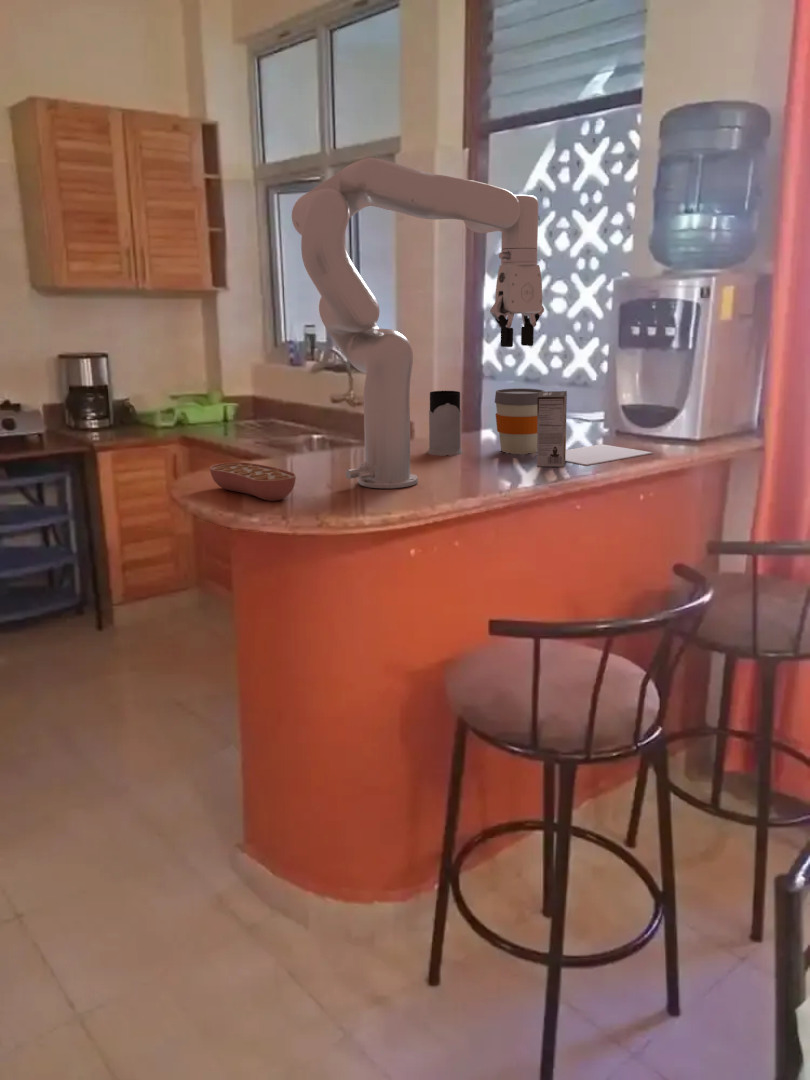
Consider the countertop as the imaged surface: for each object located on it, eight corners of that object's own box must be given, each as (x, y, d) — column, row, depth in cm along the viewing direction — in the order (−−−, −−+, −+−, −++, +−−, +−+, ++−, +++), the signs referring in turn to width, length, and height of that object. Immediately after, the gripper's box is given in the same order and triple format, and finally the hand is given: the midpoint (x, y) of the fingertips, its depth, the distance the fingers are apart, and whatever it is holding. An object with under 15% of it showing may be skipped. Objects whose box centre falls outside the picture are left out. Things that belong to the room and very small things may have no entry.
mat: (586, 465, 200) (586, 464, 200) (536, 456, 212) (536, 455, 212) (652, 453, 214) (652, 452, 214) (601, 445, 226) (601, 444, 226)
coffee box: (538, 458, 208) (539, 391, 203) (566, 458, 207) (567, 390, 202) (536, 466, 199) (536, 396, 195) (564, 467, 198) (566, 396, 194)
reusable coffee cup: (539, 456, 212) (541, 394, 208) (488, 454, 216) (489, 393, 212) (547, 448, 223) (549, 388, 219) (499, 445, 227) (501, 387, 223)
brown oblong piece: (203, 490, 181) (201, 466, 179) (243, 483, 187) (242, 460, 186) (267, 508, 165) (266, 482, 163) (309, 499, 171) (308, 474, 170)
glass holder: (430, 456, 214) (430, 394, 210) (422, 446, 228) (421, 388, 224) (465, 454, 215) (465, 393, 211) (454, 445, 229) (455, 387, 225)
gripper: (501, 257, 176) (499, 348, 181) (560, 258, 186) (557, 345, 191) (476, 258, 182) (475, 347, 187) (535, 259, 192) (532, 343, 197)
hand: (516, 345), depth 189 cm, fingers open, 5 cm apart
